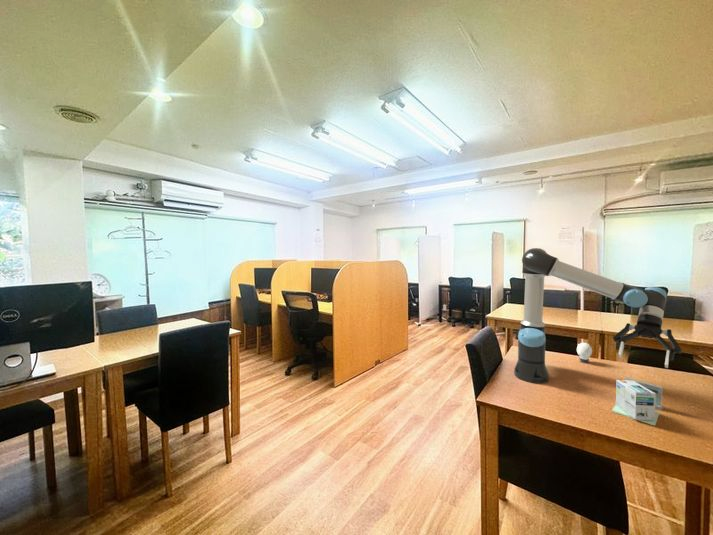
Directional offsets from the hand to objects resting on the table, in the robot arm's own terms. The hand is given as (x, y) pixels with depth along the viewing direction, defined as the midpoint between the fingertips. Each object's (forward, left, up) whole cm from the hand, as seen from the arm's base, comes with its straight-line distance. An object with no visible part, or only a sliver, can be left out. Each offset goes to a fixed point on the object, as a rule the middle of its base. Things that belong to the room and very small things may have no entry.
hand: (641, 361), depth 118 cm
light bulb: (-27, +34, -18) cm, 47 cm away
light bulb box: (0, -11, -18) cm, 21 cm away
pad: (0, -10, -18) cm, 21 cm away
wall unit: (0, +1, -18) cm, 18 cm away
